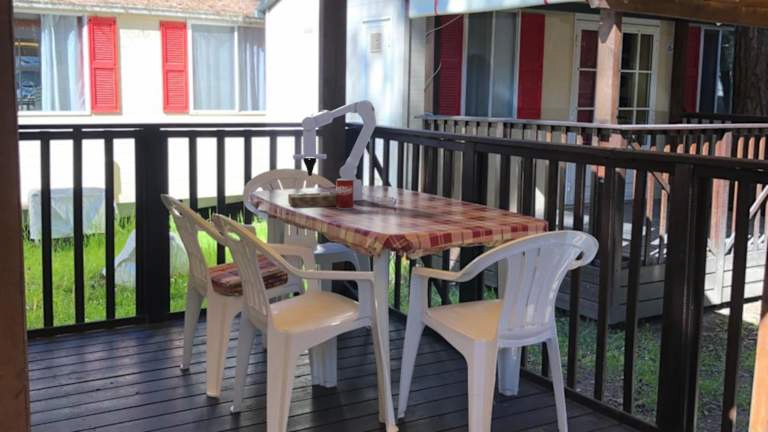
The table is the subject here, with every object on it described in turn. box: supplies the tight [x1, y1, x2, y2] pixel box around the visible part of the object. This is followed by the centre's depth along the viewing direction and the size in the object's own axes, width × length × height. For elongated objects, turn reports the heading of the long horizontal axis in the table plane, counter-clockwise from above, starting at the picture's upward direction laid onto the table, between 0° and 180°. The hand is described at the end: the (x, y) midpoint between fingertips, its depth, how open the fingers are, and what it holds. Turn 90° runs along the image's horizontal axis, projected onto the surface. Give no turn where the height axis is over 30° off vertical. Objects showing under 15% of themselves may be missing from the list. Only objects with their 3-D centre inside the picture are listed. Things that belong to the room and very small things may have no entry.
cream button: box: [319, 191, 331, 196], centre depth 350 cm, size 4×4×4 cm
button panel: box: [287, 192, 336, 208], centre depth 349 cm, size 20×10×4 cm, turn 104°
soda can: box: [335, 177, 355, 210], centre depth 338 cm, size 7×7×12 cm
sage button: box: [296, 192, 308, 196], centre depth 347 cm, size 4×4×4 cm
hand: (309, 175), depth 363 cm, fingers closed
